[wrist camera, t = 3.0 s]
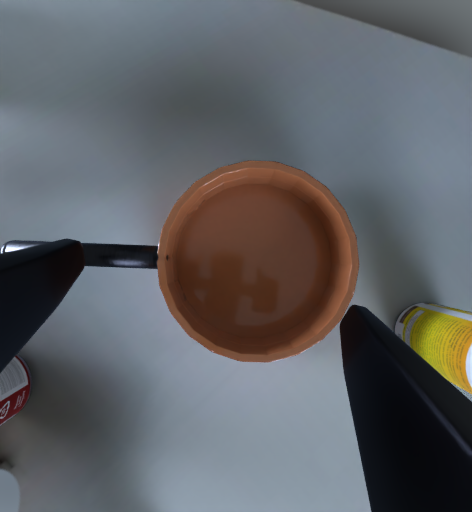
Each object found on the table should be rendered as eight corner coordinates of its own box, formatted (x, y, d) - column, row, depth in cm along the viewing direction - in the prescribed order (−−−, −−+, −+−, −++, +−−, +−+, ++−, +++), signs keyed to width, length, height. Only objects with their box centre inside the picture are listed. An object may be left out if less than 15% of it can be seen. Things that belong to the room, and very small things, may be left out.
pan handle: (171, 246, 20) (165, 245, 19) (170, 268, 20) (164, 269, 19) (14, 240, 20) (-7, 239, 19) (14, 262, 20) (-8, 263, 19)
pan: (332, 344, 23) (355, 366, 19) (168, 338, 23) (152, 358, 19) (338, 183, 23) (363, 164, 19) (175, 176, 23) (160, 156, 19)
